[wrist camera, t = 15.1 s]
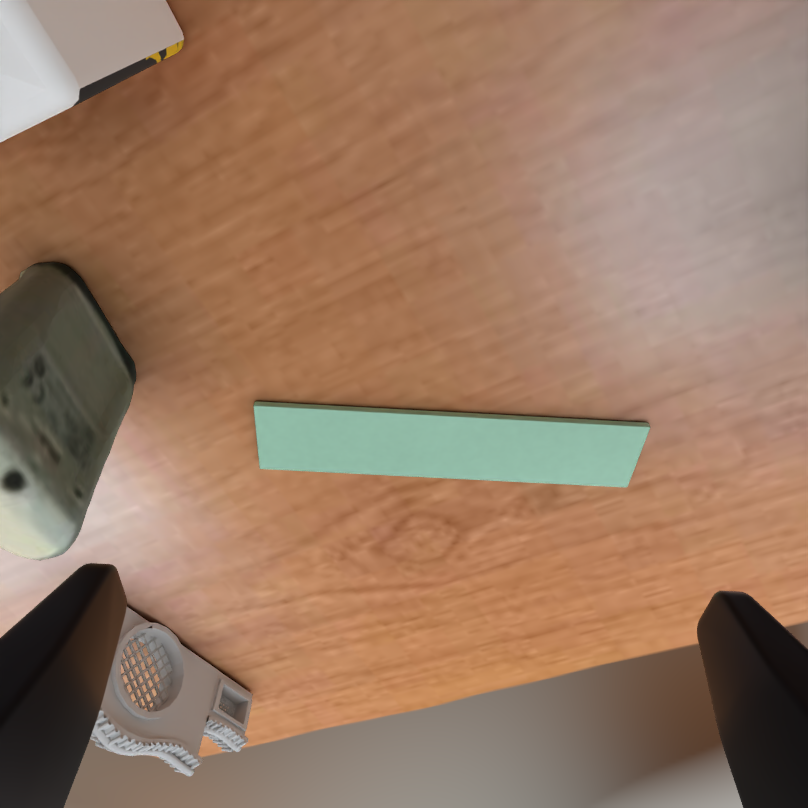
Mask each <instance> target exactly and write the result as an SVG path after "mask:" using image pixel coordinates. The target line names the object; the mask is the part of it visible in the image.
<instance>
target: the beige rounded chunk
mask: <svg viewBox="0 0 808 808" xmlns="http://www.w3.org/2000/svg"><path fill="white" fill-rule="evenodd" d="M135 381H136V370H135V364H134V362H133V360H132V359H131V357H130V356H129V355H128V353H127V352H126V350H125V349H124V347H123V346H122V344H121V343H120V342H119V340H118V338H117V336H116V334H115V333H114V331H113V329H112V328H111V326H110V324H109V322H108V321H107V319H106V318H105V316H104V314H103V312H102V311H101V309H100V307H99V306H98V304H97V303H96V301H95V299H94V298H93V296H92V295H91V293H90V291H89V289H88V288H87V286H86V285H85V283H84V282H83V280H82V279H81V278H80V276H79V275H77V274H76V273H75V272H74V271H73V270H72V269H71V268H69V267H68V266H66V265H65V264H60V263H55V262H49V263H37V264H34V265H32V266H30V267H29V268H27V269H26V270H24V271H22V272H21V273H20V277H19V280H17V281H16V282H15V283H14V284H12V285H11V286H9V287H8V288H7V289H6V290H4V291H3V292H2V293H0V548H2V549H4V550H6V551H8V552H10V553H12V554H15V555H17V556H20V557H24V558H27V559H34V560H44V559H49V558H53V557H57V556H59V555H62V554H63V553H65V552H66V551H67V550H68V549H69V548H70V546H71V545H72V544H73V542H74V541H75V540H76V538H77V536H78V534H79V532H80V530H81V527H82V524H83V521H84V518H85V514H86V511H87V509H88V506H89V504H90V501H91V498H92V495H93V492H94V489H95V487H96V485H97V482H98V480H99V477H100V475H101V472H102V469H103V466H104V464H105V462H106V460H107V457H108V455H109V453H110V450H111V447H112V444H113V442H114V439H115V437H116V434H117V431H118V429H119V427H120V425H121V422H122V420H123V418H124V416H125V414H126V412H127V410H128V408H129V405H130V402H131V398H132V395H133V388H134V384H135Z"/></svg>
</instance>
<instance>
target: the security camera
mask: <svg viewBox="0 0 808 808" xmlns="http://www.w3.org/2000/svg"><path fill="white" fill-rule="evenodd" d="M183 42H184V36H183V33H182V30H181V28H180V26H179V24H178V22H177V20H176V19H175V17H174V15H173V13H172V11H171V9H170V7H169V5H168V3H167V2H166V0H0V142H2V141H4V140H6V139H8V138H10V137H12V136H14V135H16V134H18V133H20V132H22V131H25V130H27V129H29V128H31V127H33V126H35V125H37V124H39V123H41V122H43V121H45V120H47V119H49V118H51V117H53V116H55V115H57V114H59V113H61V112H63V111H65V110H67V109H69V108H71V107H73V106H75V105H77V104H79V103H81V102H83V101H84V100H86V99H88V98H90V97H92V96H94V95H96V94H98V93H100V92H102V91H104V90H106V89H108V88H110V87H112V86H114V85H116V84H117V83H119V82H121V81H123V80H125V79H127V78H129V77H131V76H133V75H135V74H137V73H139V72H141V71H143V70H145V69H147V68H149V67H150V66H152V65H154V64H156V63H158V62H160V61H162V60H164V59H166V58H168V57H170V56H172V55H174V54H176V53H178V52H179V51H180V50H181V49H182V48H183Z"/></svg>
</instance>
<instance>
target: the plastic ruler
mask: <svg viewBox="0 0 808 808" xmlns="http://www.w3.org/2000/svg"><path fill="white" fill-rule="evenodd" d="M254 416H255V426H256V436H257V446H258V457H259V467H260V469H273V470H293V471H313V472H332V473H352V474H372V475H392V476H412V477H431V478H451V479H471V480H491V481H510V482H530V483H550V484H570V485H590V486H609V487H628V484H629V481H630V479H631V476H632V474H633V471H634V468H635V466H636V463H637V461H638V458H639V456H640V453H641V450H642V448H643V445H644V443H645V440H646V437H647V435H648V432H649V430H650V425H649V423H644V422H626V421H608V420H589V419H571V418H552V417H534V416H516V415H497V414H479V413H461V412H442V411H424V410H405V409H387V408H369V407H350V406H332V405H313V404H295V403H277V402H258V401H255V403H254Z"/></svg>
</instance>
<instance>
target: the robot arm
mask: <svg viewBox="0 0 808 808" xmlns="http://www.w3.org/2000/svg"><path fill="white" fill-rule="evenodd" d="M126 608H127V600H126V595H125V592H124V589H123V586H122V583H121V580H120V577H119V574H118V571H117V569H116V567H115V566H113V565H111V564H94V563H90V564H86V565H83V566H82V567H80V568H79V569H78V570H77V571H75V572H74V573H73V574H72V575H71V576H70V577H69V578H68V579H66V580H65V581H64V582H63V583H62V584H61V585H60V586H59V587H57V588H56V589H55V590H54V591H53V592H52V593H51V594H49V595H48V596H47V597H46V598H45V599H44V600H43V601H42V602H40V603H39V604H38V605H37V606H36V607H35V608H34V609H33V610H31V611H30V612H29V613H28V614H27V615H26V616H25V617H24V618H22V619H21V620H20V621H19V622H18V623H17V624H16V625H15V626H13V627H12V628H11V629H10V630H9V631H8V632H7V633H5V634H4V635H3V636H2V637H1V638H0V808H64V805H65V802H66V800H67V797H68V795H69V792H70V789H71V787H72V784H73V781H74V779H75V776H76V774H77V771H78V768H79V766H80V763H81V761H82V758H83V755H84V753H85V750H86V747H87V745H88V742H89V740H90V737H91V734H92V732H93V729H94V726H95V723H96V720H97V718H98V715H99V711H100V708H101V704H102V701H103V697H104V694H105V690H106V686H107V682H108V678H109V675H110V671H111V667H112V663H113V659H114V656H115V652H116V648H117V644H118V641H119V637H120V633H121V629H122V625H123V622H124V618H125V614H126ZM697 636H698V641H699V646H700V650H701V655H702V659H703V664H704V668H705V673H706V677H707V682H708V686H709V691H710V695H711V699H712V704H713V709H714V713H715V718H716V722H717V726H718V730H719V734H720V737H721V741H722V744H723V747H724V751H725V754H726V757H727V759H728V763H729V766H730V769H731V772H732V775H733V777H734V781H735V783H736V787H737V790H738V793H739V796H740V799H741V802H742V805H743V808H808V649H807V648H806V647H805V646H804V645H803V644H802V643H801V642H800V641H799V640H798V639H796V638H795V637H794V636H793V635H792V634H791V633H790V632H789V631H788V630H787V629H786V628H785V627H783V626H782V625H781V624H780V623H779V622H778V621H777V620H776V619H775V618H774V617H773V616H772V615H771V614H769V613H768V612H767V611H766V610H765V609H764V608H763V607H762V606H761V605H760V604H759V603H758V602H757V601H755V600H754V599H753V598H752V597H751V596H749V595H748V594H746V593H744V592H736V591H719V592H717V593H716V594H715V595H714V596H713V597H712V599H711V601H710V603H709V604H708V606H707V608H706V609H705V611H704V613H703V615H702V616H701V618H700V620H699V622H698V626H697Z"/></svg>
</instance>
